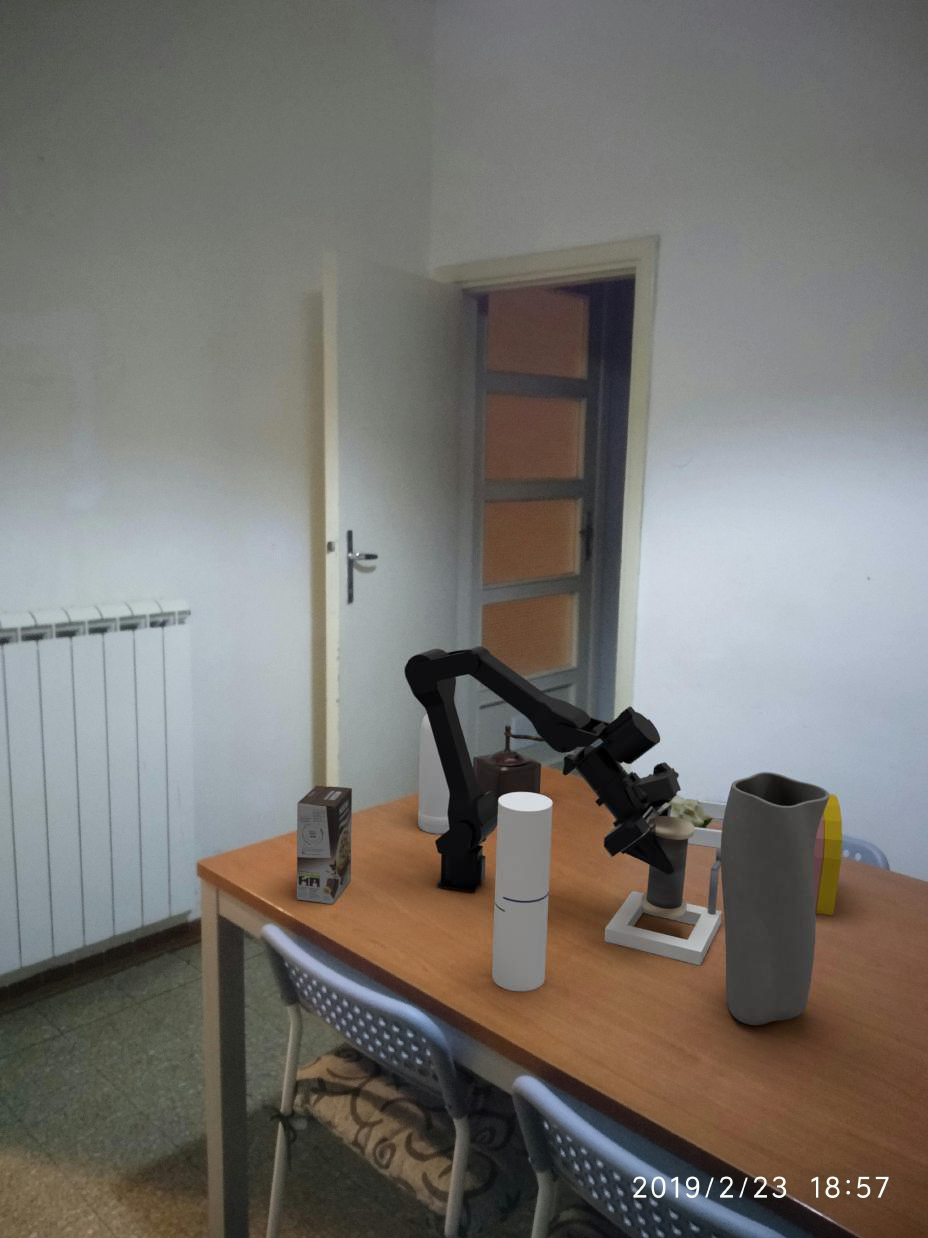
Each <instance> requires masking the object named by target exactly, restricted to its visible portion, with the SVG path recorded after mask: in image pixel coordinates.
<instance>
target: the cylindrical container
mask: <svg viewBox="0 0 928 1238" xmlns="http://www.w3.org/2000/svg"><path fill="white" fill-rule="evenodd" d="M552 822H553V800H552V799H551V798H549V797H548V796H546V795H543V794H541V793H540V794H536V793H530V792H514V793H508V794H505V795H502V796H501V797H500V798H499V799H498V822H497V826H496V828H497V829H496V852H495V853H496V854H495V884H494V912H493V913H494V915H493V940H492V941H493V942H492V943H493V944H492V966H491V967H492V970H491V971H492V972H491V975H492V976H491V977H492V980H493V982H494V983H495V984H496V985H497V986H498V987H501V988H503V989H505V990H508V991H512V992H529V991H534V990H537V989H538V988H540V987H541V986H542V985H544V982H545V978H546V960H547V959H546V957H547V940H548V939H547V937H548V936H547V935H548V914H549V913H548V912H549V890H550V887H549V886H550V870H551V869H550V868H551V851H552V850H551V846H552V845H551V844H552V827H553V826H552V824H553V823H552Z"/></svg>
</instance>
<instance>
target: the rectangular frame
mask: <svg viewBox="0 0 928 1238" xmlns="http://www.w3.org/2000/svg"><path fill="white" fill-rule="evenodd" d="M720 869H721V848H716V852H715V861H714V863H713V865H712V866H711V868H710V876H709V887H708V888H709V889H708V900H707V901H708V903H707V907H704V906H700V905H695V904H691V903H687V907H686V913H685V914H684V915H682V916H680V917H674V918H668V920H672V921H675V920H676V921H675V922H679V923H685V924H690V925H693V926H694V927H693V929H692V931H691V932H690V935H689V937H688V939H685V938H680V937H676V936H672V935H668V934H664V933H661V932H656V931H652V930H649V929H644V928H639V927H636V926H635V925H636V924H637V922H638V921H639V919H640V918H641V917H642V915H643V914H646V915H650V916H655V917H660V916H656V915H653V914H651V913H649V912H647V911H645V910H644V909H643V908H642V906H641V901H642V896H643V894H645V892H639V891H634V890H632V891H631V892H630V894H629V895H628V896H627V898H626V899H625V901H624V902H623V903H622V905H621V906H620V908H619V909H618V910H617V912H616V913H615V914H614V916H613V917H612V918H611V920H610V921H609V923H607V925H606V927H605V928H604V942H606V943H609V944H610V943H611V944H614V945H619V946H623V947H627V948H631V949H634V950H638V951H642V952H647V953H651V954H652V955H653V954H654V955H658V956H662V957H666V958H669V959H673V960H677V961H682V962H686V963H689V964H693V965H698V966H701V965H702V963H703V961H704V959H705V957H706V955H707V952H708V950H709V948H710V946H711V944H712V942H713V941H714V938H715V936H716V934H717V932H718V930H719V928H720V926H721V922H722V911H721V910H717V900H718V899H717V898H718V890H719V889H718V887H719V875H720V874H719V873H720ZM660 918H661V917H660ZM662 918H663V919H667V917H662Z"/></svg>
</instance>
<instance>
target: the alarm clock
mask: <svg viewBox="0 0 928 1238" xmlns="http://www.w3.org/2000/svg"><path fill="white" fill-rule="evenodd" d="M829 795H830V797H829V800H828V802H827V805H826V807H825V810H824V813H823V815H822V818H821V821H820V824H819V828H818V831H817V835H816V841H815V847H814V863H813V866H814V892H815V914H819V915H826V914H827V915H828V916H834V911H835V907H836V906H835V905H836V898H837V892H838V886H839V877H840V871H841V862H842V851H843V822H842V821H843V820H842V813H841V805H840V802H839V799H838V797H837V796H836V795H835V794H834V793H829Z"/></svg>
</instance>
